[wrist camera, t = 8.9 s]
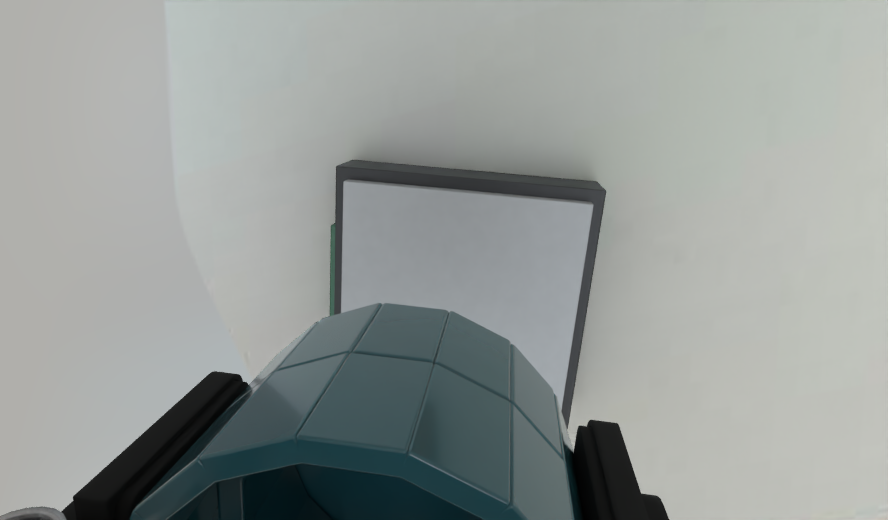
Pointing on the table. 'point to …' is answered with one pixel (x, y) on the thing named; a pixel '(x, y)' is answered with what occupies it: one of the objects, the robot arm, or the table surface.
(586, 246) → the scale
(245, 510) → the teal cup
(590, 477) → the robot arm
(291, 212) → the table surface
